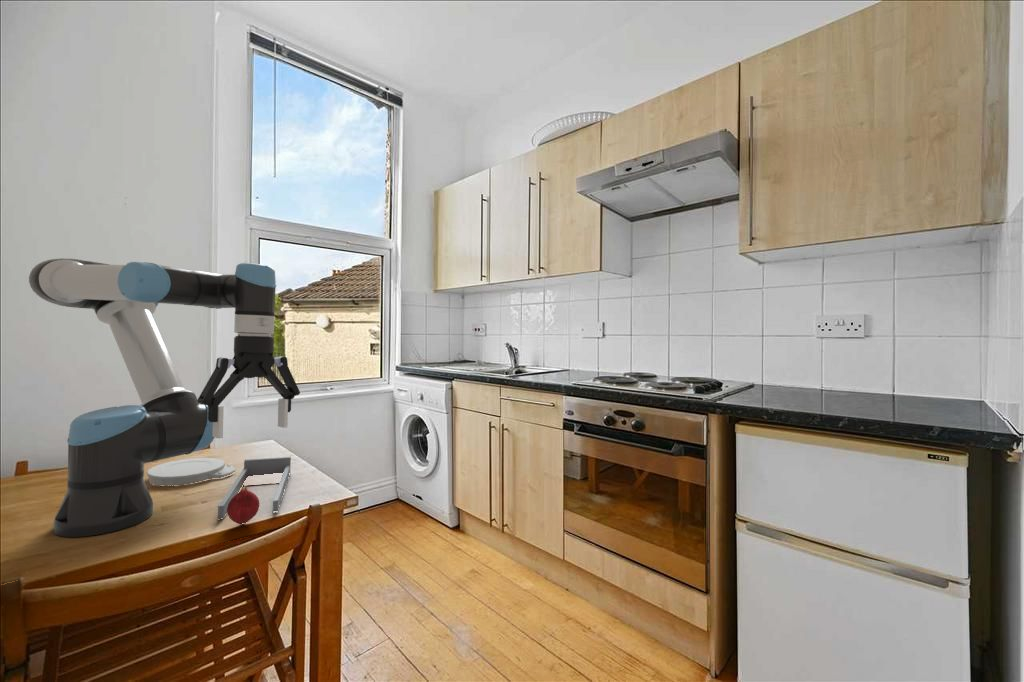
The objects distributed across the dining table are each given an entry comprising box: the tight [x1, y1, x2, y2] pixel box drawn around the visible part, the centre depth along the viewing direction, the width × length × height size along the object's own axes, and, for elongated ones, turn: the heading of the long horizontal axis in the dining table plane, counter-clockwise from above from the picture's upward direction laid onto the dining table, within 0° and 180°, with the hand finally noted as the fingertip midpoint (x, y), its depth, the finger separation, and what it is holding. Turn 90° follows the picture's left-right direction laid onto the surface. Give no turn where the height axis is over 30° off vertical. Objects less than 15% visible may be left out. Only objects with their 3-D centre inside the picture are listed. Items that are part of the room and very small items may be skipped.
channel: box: [217, 456, 292, 520], centre depth 108 cm, size 11×29×5 cm, turn 22°
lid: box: [146, 457, 236, 486], centre depth 119 cm, size 17×20×3 cm
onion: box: [226, 486, 260, 525], centre depth 91 cm, size 6×6×8 cm
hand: (252, 431), depth 94 cm, fingers open, 13 cm apart
